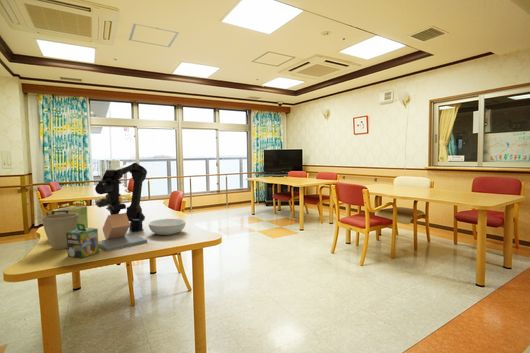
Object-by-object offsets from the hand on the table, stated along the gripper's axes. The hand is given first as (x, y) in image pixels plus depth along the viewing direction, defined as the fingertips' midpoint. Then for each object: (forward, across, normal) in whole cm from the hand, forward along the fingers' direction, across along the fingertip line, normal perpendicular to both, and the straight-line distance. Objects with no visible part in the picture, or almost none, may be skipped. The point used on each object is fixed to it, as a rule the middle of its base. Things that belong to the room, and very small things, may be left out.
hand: (113, 220), depth 156 cm
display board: (+11, +10, 0) cm, 15 cm away
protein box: (+11, -32, -13) cm, 36 cm away
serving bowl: (+11, +8, +27) cm, 30 cm away
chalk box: (+11, +15, -19) cm, 27 cm away
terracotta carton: (+7, -2, 0) cm, 8 cm away
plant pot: (+11, -6, -23) cm, 26 cm away
